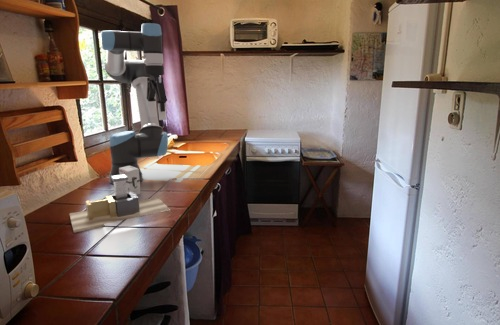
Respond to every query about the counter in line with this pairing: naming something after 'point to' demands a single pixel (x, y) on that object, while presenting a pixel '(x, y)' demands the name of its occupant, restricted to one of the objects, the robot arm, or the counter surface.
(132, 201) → the dark grey hollow housing
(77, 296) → the counter surface
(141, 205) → the mounting board
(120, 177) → the grey long block
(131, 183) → the ink box
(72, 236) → the counter surface
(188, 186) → the counter surface
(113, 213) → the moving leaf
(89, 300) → the counter surface
